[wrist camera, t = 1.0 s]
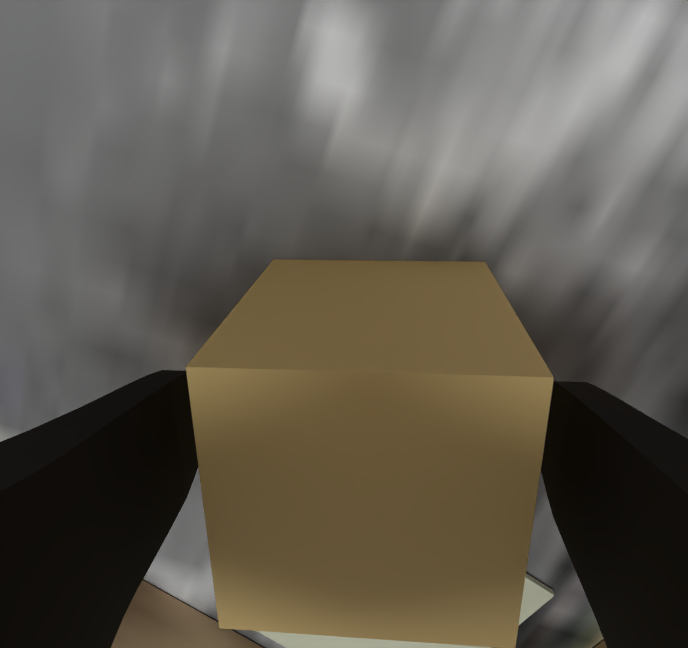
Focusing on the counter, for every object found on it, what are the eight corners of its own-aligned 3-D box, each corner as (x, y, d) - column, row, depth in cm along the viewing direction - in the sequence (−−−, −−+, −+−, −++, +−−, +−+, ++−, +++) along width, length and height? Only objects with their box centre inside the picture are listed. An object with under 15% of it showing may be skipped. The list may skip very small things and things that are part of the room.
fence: (734, 596, 16) (824, 725, 12) (460, 792, 20) (472, 926, 17) (242, 267, 13) (192, 318, 10) (51, 568, 18) (-27, 672, 14)
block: (484, 261, 13) (553, 377, 7) (469, 443, 15) (515, 649, 9) (274, 258, 13) (185, 366, 8) (284, 436, 15) (219, 628, 9)
